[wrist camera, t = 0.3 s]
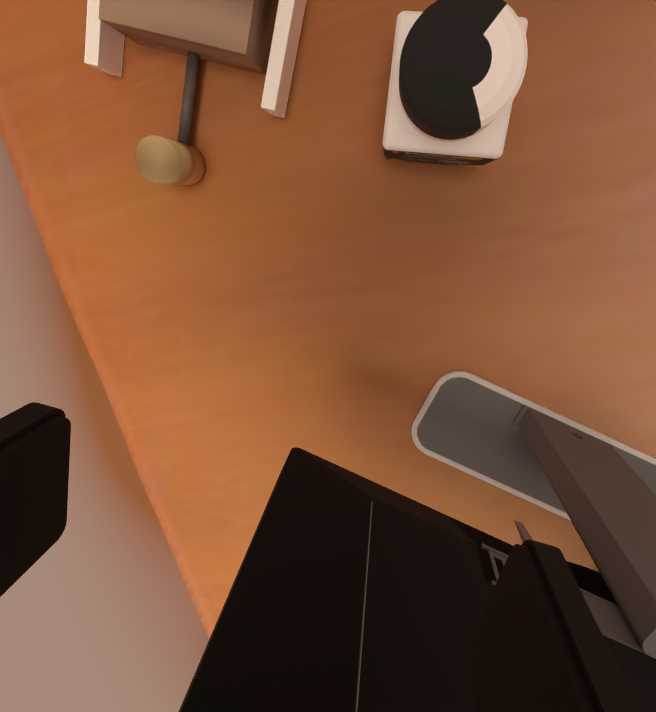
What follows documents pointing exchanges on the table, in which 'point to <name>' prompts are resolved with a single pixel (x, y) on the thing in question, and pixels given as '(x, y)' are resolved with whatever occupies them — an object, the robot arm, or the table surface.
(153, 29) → the brown handled block
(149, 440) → the table surface
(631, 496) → the computer monitor
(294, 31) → the lane organiser
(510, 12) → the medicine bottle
